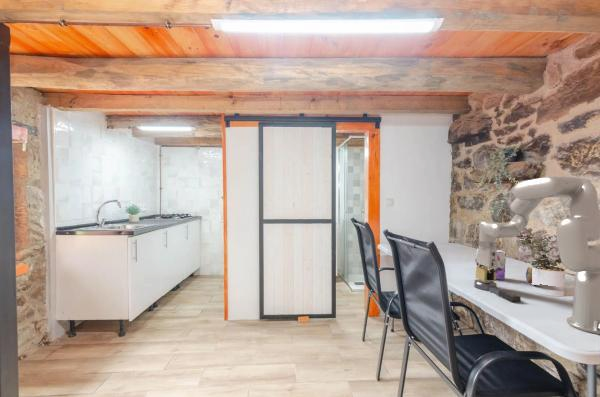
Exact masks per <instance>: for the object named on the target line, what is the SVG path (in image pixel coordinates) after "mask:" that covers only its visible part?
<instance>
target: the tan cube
mask: <svg viewBox="0 0 600 397" xmlns="http://www.w3.org/2000/svg"><path fill="white" fill-rule="evenodd" d="M491 269H492V268H490V270H491ZM475 272H476V275H475V278H476V279H480V280H482V281H492V282H496V280H497V279H496V271H495V273H494V280H487V274H488V273H489V272H488V268H487V267H476V266H475Z"/></svg>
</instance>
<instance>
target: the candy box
mask: <svg viewBox="0 0 600 397" xmlns="http://www.w3.org/2000/svg"><path fill="white" fill-rule="evenodd" d="M496 250H497V249H496ZM477 251H478V248H476V252H477ZM506 256H507V252H505V251H504V250H501V249H500V250H499V249H498V250H497V259H498V264H497V266H498V269H497V270H496V280H500V281H505V279H506V277H505V276H506V258H507V257H506ZM476 258H477V255H476V257H475V259H476ZM476 267H477V264H476V263H475V268H476ZM484 267H486V266H484ZM474 275H475V276H476V271H475V274H474Z"/></svg>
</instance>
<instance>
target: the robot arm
mask: <svg viewBox="0 0 600 397" xmlns="http://www.w3.org/2000/svg"><path fill="white" fill-rule="evenodd" d="M512 194H513V196H514V197H515V199H514V200H513V201H512V202H511V203H510V205H509V208H510V209H511V211H512V212H513V213H514V214H515V215H514V216H513V217H512V219H511V220H509V221H508V222H495V221H492V220H491V221H490V220H482V221H480V222H479V232H478V233H479V234H478V246H477V249H478V251H477V250H476V256H477V258H476V257H475V259H474V261H475V265H476V264H477V267H484V266H486V267H487V268H488V272H489V273H488V274H487V280H494V273H495V271H496V270H497V269H498V266H497V264H498V259H497V248H496V244H497V243H496V242H497V239H502V238H503V239H504V238H505V239H506V238H514V237H517V236H518V235H520V234H521V232H523V231H524V229H525V228H526V227H527V226H528V224H529V220H530V219H529V218H530V214H531V213H532V212H533V211H534V210H535V209H536V208H537V207H538V206H539V204H540V203H542V202H543V201H544V199H546V198H570V202H569V206H568V210H569V213H570V217H566V218H563V219H562V220H560V221H559V222H558V224H557V225H556V229H555V233H556V234H555V236H556V239H557V248H558V253H559V254H558V255H559V257H560V262H561V263H562V265H563V266H564V267H565V268H566V269H567V270H569V271H571V272H574V273H575V276H574V281H573V282H574V283H573V297H572V315H571V316H570V317H567V318H566V323H567V324H568V325H569V326H571V327H573V328H576V329H577V330H580V331H584V332H587V333H592V334H595V335H600V245H593V244H590V245H589V242H591V243H592V242H596V241H599V240H600V206H599V197H598V190H597V188H596V186H595V185H594V184H593V183H592V182H591V181H590V180H587V179H585V178H581V177H575V176H552V175H551V176H544V177H543V176H542V177H537V178H532V179H525V180H521V181H518V182H517V183H516V184H515V185H514V187H513V188H512ZM490 268H492V269H491V270H490Z"/></svg>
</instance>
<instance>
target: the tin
mask: <svg viewBox="0 0 600 397" xmlns="http://www.w3.org/2000/svg"><path fill="white" fill-rule="evenodd" d="M532 268H533V267H528V268H527V269H526V272H525V277H526V282H528V283H529V284H530V285H532V284H531V283H532Z"/></svg>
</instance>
